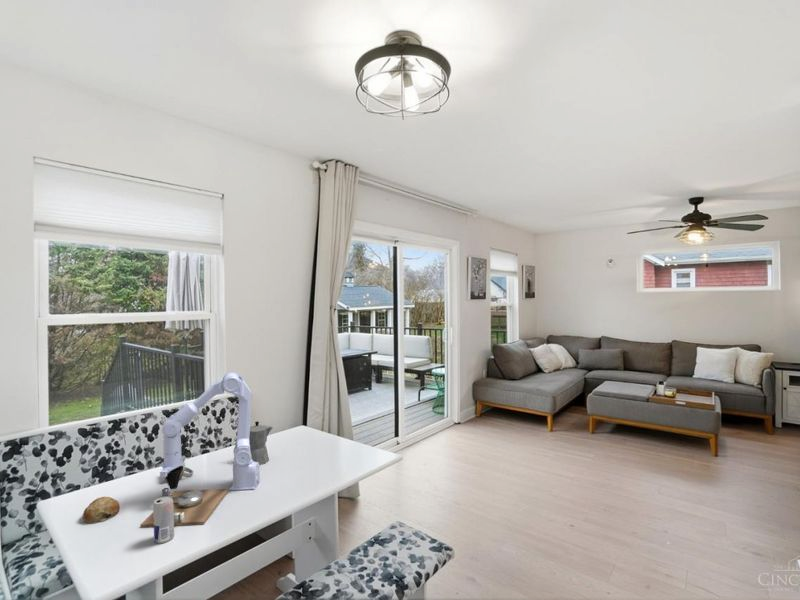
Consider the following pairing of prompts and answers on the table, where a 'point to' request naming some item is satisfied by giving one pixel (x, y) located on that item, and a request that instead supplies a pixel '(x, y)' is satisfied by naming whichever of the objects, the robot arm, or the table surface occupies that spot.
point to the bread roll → (101, 510)
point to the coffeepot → (259, 443)
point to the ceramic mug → (186, 471)
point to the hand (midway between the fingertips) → (173, 488)
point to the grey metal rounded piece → (185, 498)
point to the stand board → (193, 508)
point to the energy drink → (163, 519)
